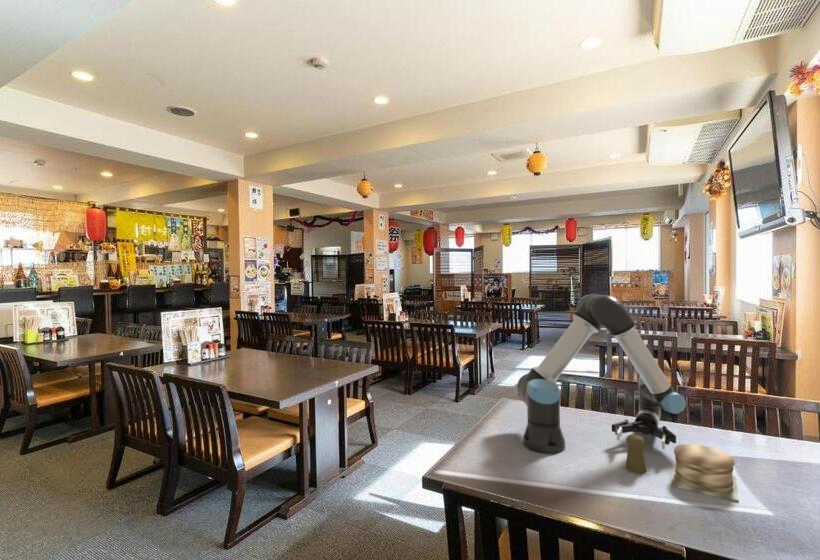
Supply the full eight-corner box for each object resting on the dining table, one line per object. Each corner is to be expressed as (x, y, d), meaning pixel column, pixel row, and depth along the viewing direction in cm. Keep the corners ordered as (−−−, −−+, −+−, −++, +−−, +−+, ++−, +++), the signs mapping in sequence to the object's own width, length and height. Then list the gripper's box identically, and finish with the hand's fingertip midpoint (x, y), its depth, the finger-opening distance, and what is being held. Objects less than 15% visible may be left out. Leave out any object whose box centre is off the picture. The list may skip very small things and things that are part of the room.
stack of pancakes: (670, 486, 123) (670, 457, 123) (674, 465, 136) (673, 439, 136) (738, 502, 114) (738, 471, 114) (735, 478, 127) (735, 451, 127)
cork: (649, 474, 130) (648, 440, 130) (628, 473, 132) (628, 439, 132) (642, 466, 136) (642, 433, 136) (622, 464, 138) (622, 432, 138)
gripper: (685, 438, 151) (683, 460, 134) (611, 425, 166) (600, 443, 149) (685, 418, 151) (683, 437, 134) (611, 407, 166) (600, 422, 148)
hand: (639, 440), depth 141 cm, fingers open, 13 cm apart
